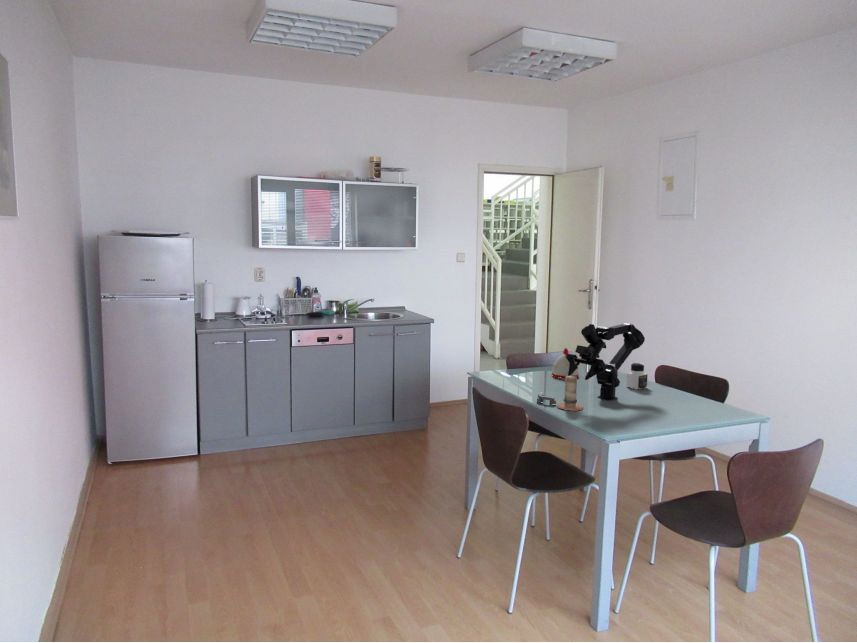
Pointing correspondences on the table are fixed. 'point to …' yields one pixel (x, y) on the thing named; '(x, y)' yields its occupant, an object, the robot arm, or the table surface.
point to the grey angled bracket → (545, 398)
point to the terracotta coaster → (578, 407)
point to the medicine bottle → (637, 377)
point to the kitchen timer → (562, 366)
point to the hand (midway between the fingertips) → (576, 377)
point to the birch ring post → (570, 391)
